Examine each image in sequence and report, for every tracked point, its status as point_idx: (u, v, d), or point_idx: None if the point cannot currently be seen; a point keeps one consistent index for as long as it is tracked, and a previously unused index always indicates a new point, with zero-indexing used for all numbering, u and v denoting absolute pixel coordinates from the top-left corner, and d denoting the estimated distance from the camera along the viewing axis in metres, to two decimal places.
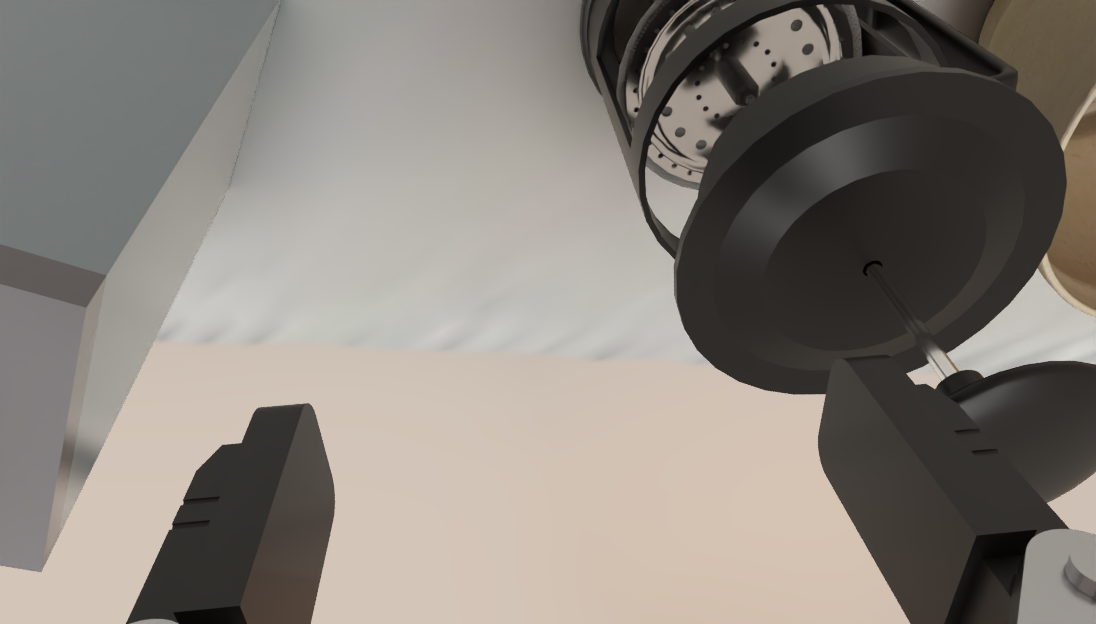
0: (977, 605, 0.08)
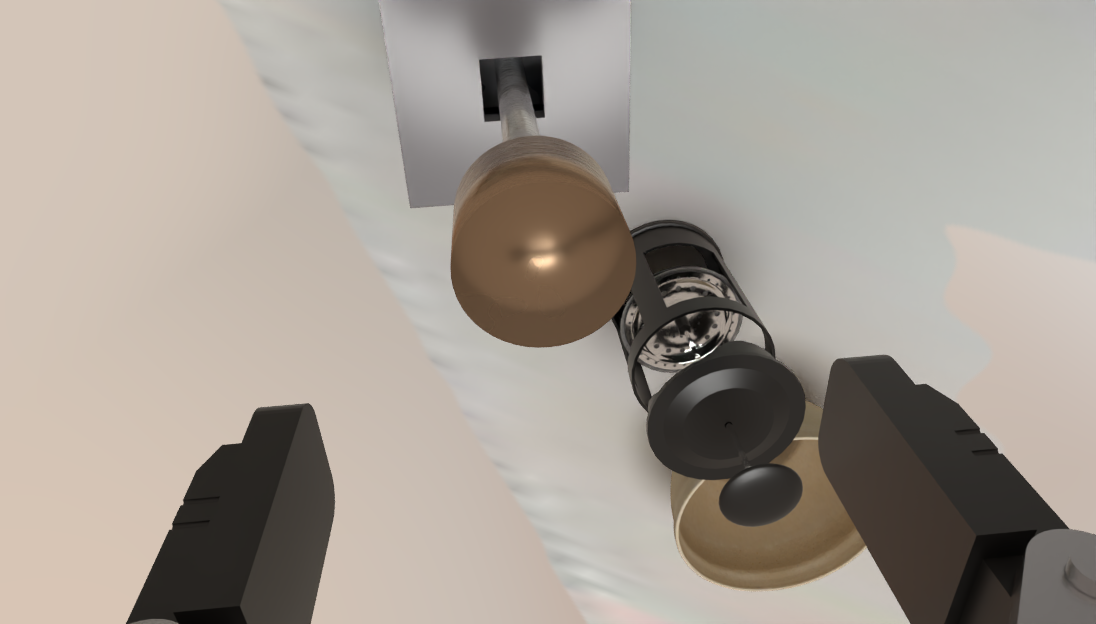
0: (977, 605, 0.08)
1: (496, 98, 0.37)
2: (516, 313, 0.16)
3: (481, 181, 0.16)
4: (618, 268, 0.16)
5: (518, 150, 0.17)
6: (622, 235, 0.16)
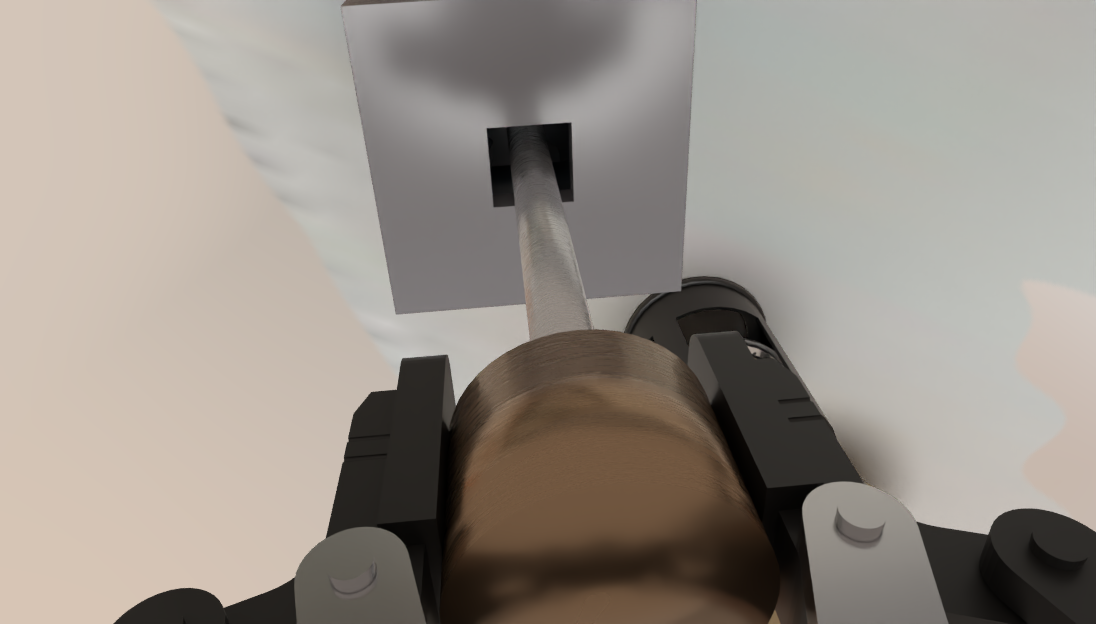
0: (777, 554, 0.09)
1: (506, 155, 0.30)
2: None
3: (496, 440, 0.09)
4: (746, 603, 0.09)
5: (561, 372, 0.09)
6: (759, 556, 0.08)
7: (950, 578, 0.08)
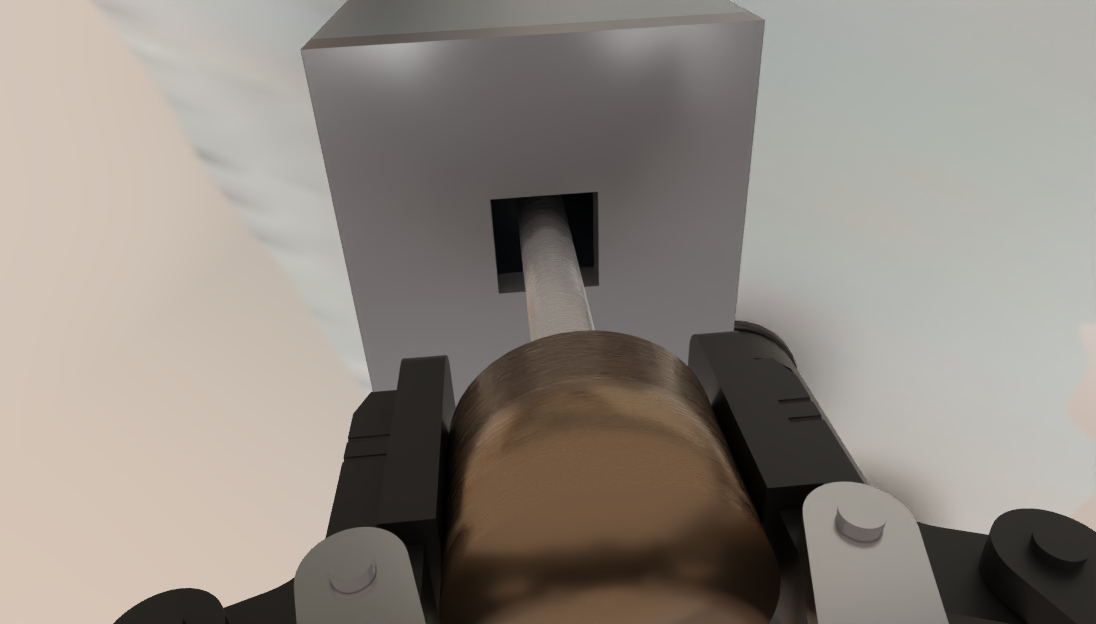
0: (777, 554, 0.09)
1: None
2: None
3: (496, 440, 0.09)
4: (746, 604, 0.09)
5: (561, 372, 0.09)
6: (759, 558, 0.08)
7: (950, 578, 0.08)
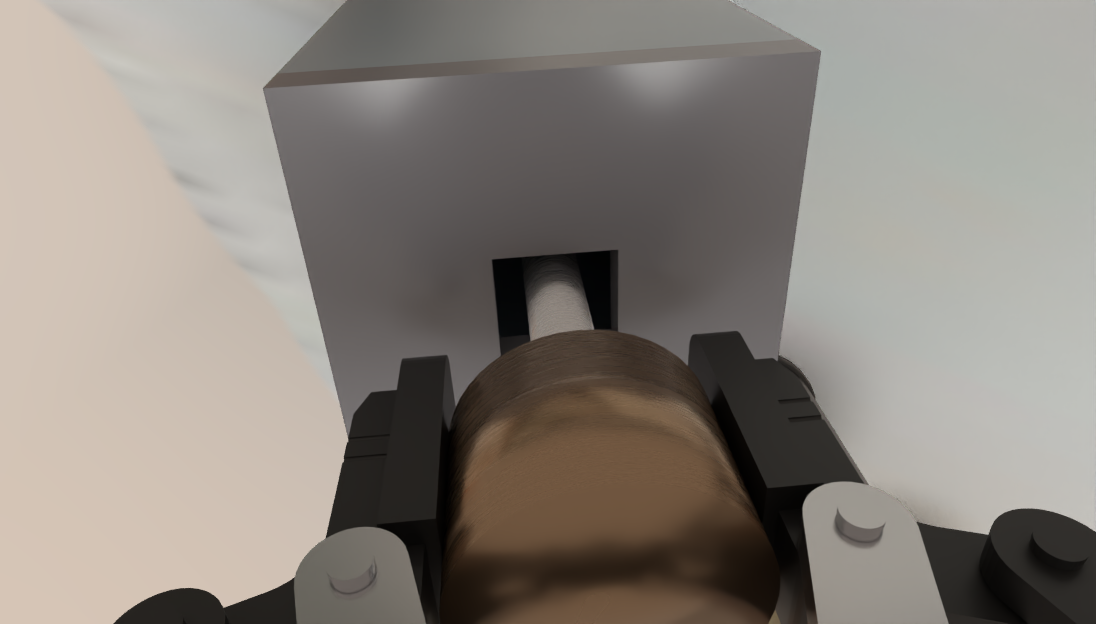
0: (777, 554, 0.09)
1: None
2: None
3: (496, 440, 0.09)
4: (745, 603, 0.09)
5: (561, 372, 0.09)
6: (759, 557, 0.08)
7: (950, 578, 0.08)
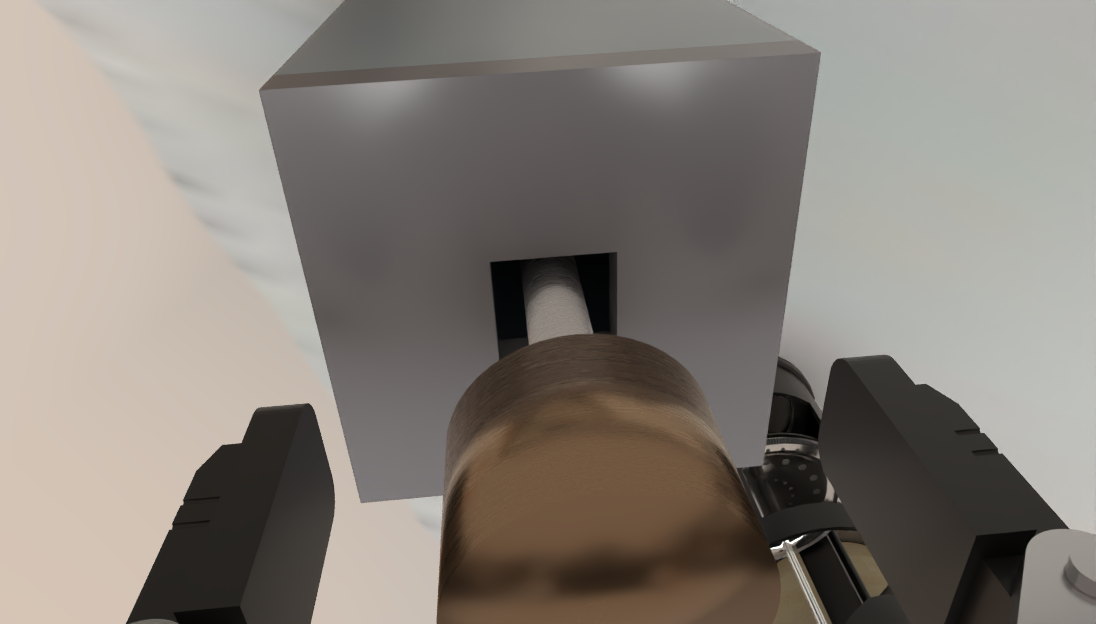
0: (977, 605, 0.08)
1: None
2: None
3: (494, 447, 0.09)
4: (746, 610, 0.09)
5: (559, 377, 0.09)
6: (759, 564, 0.08)
7: None
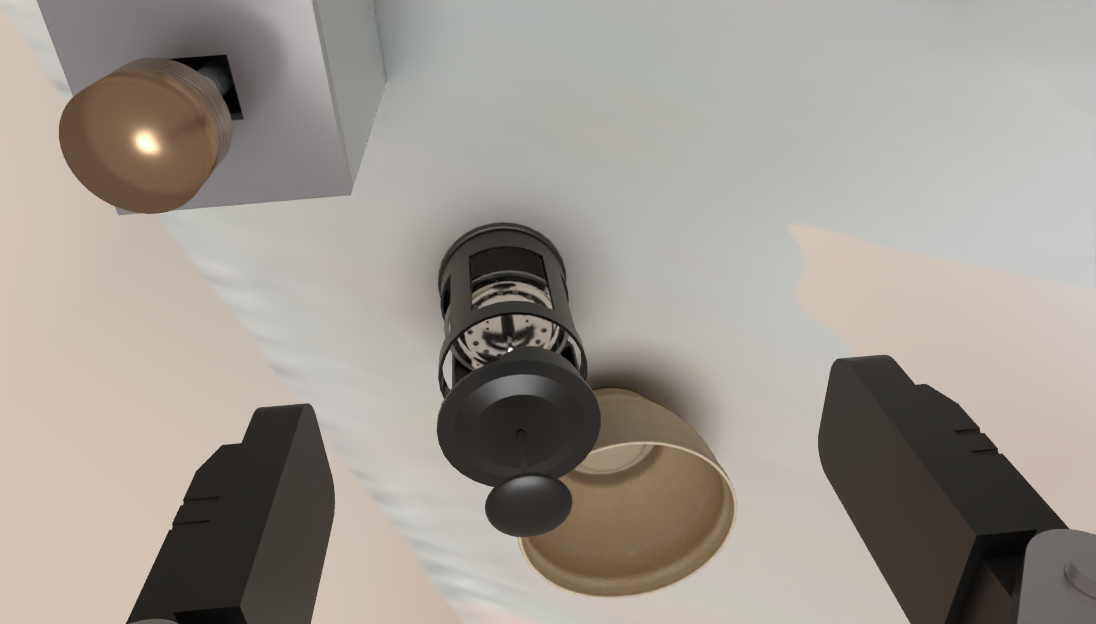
0: (977, 605, 0.08)
1: None
2: (123, 185, 0.22)
3: None
4: (192, 149, 0.22)
5: (127, 66, 0.22)
6: (187, 123, 0.21)
7: None
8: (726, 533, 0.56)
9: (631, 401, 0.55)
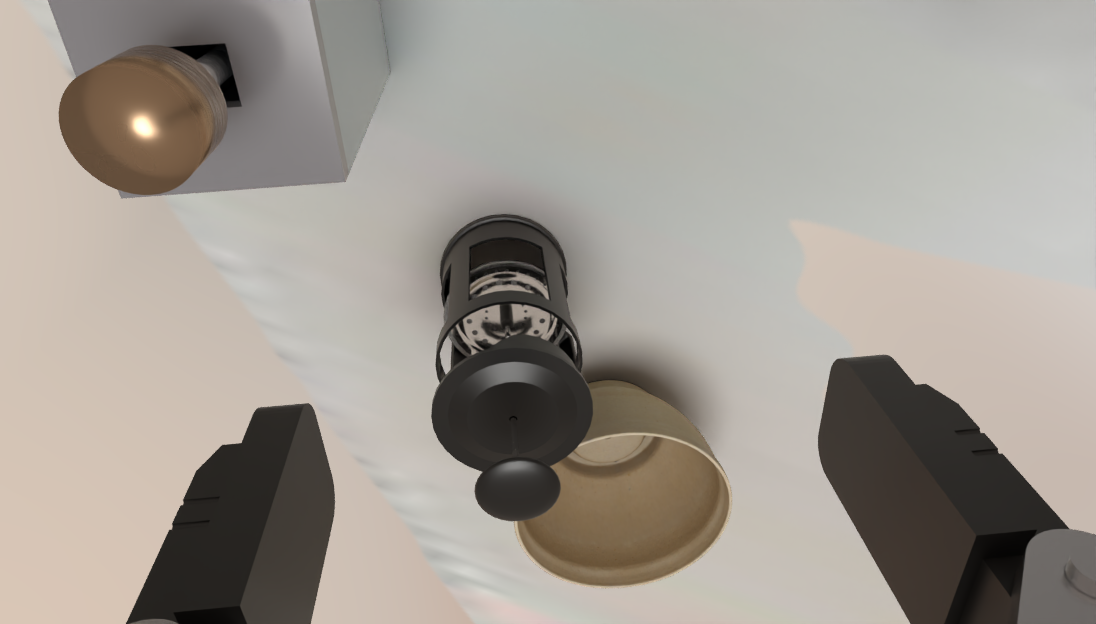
0: (977, 605, 0.08)
1: None
2: (120, 167, 0.23)
3: None
4: (185, 133, 0.23)
5: (125, 52, 0.23)
6: (180, 107, 0.22)
7: None
8: (721, 526, 0.56)
9: (629, 393, 0.56)
